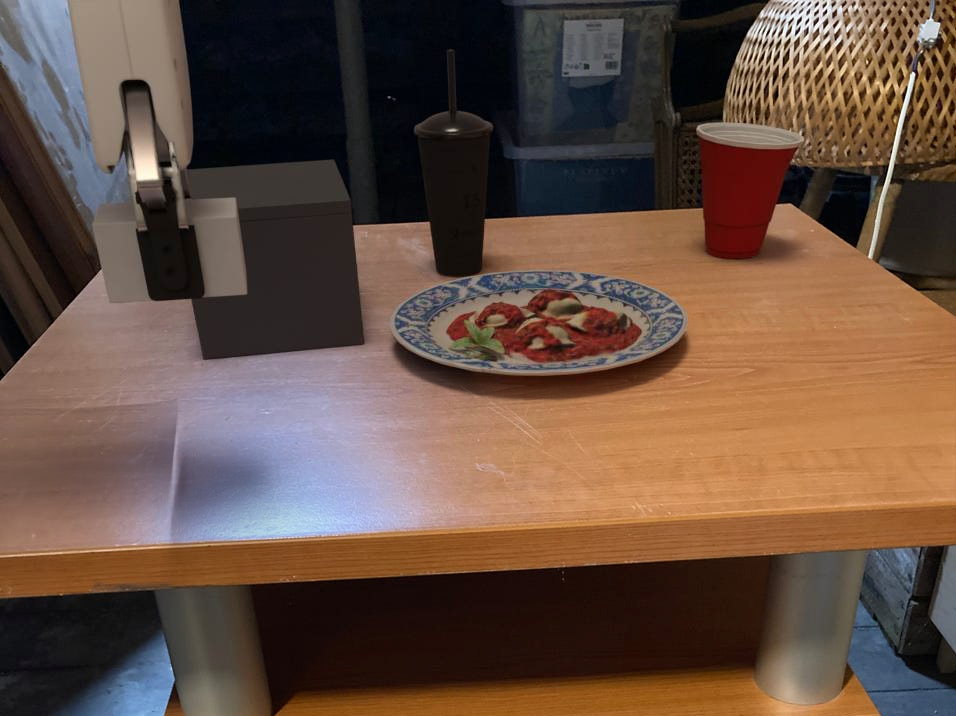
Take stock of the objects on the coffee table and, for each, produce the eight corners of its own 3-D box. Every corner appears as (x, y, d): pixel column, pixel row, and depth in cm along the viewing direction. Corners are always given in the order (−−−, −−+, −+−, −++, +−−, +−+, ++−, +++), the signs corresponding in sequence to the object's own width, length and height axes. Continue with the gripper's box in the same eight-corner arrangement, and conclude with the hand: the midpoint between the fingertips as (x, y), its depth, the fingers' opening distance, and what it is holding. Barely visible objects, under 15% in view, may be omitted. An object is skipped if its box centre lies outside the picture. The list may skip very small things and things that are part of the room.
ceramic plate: (589, 277, 101) (590, 247, 100) (747, 360, 83) (752, 325, 81) (350, 320, 93) (347, 288, 91) (466, 424, 74) (465, 385, 72)
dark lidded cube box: (203, 359, 86) (174, 213, 79) (206, 301, 99) (181, 169, 91) (364, 344, 88) (350, 199, 81) (347, 288, 101) (334, 159, 93)
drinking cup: (407, 271, 105) (392, 52, 93) (457, 254, 109) (449, 43, 97) (459, 286, 100) (451, 57, 88) (510, 267, 105) (508, 48, 93)
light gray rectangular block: (109, 303, 59) (91, 223, 56) (116, 280, 62) (99, 203, 59) (247, 294, 60) (236, 216, 57) (246, 272, 63) (235, 197, 61)
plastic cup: (795, 266, 103) (816, 138, 96) (689, 267, 103) (702, 140, 96) (777, 237, 111) (794, 117, 104) (679, 237, 112) (690, 119, 105)
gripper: (56, -88, 56) (127, 249, 67) (4, -81, 43) (102, 337, 54) (194, -89, 57) (240, 242, 68) (184, -82, 44) (244, 327, 55)
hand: (179, 281), depth 61 cm, fingers closed on light gray rectangular block, 4 cm apart
